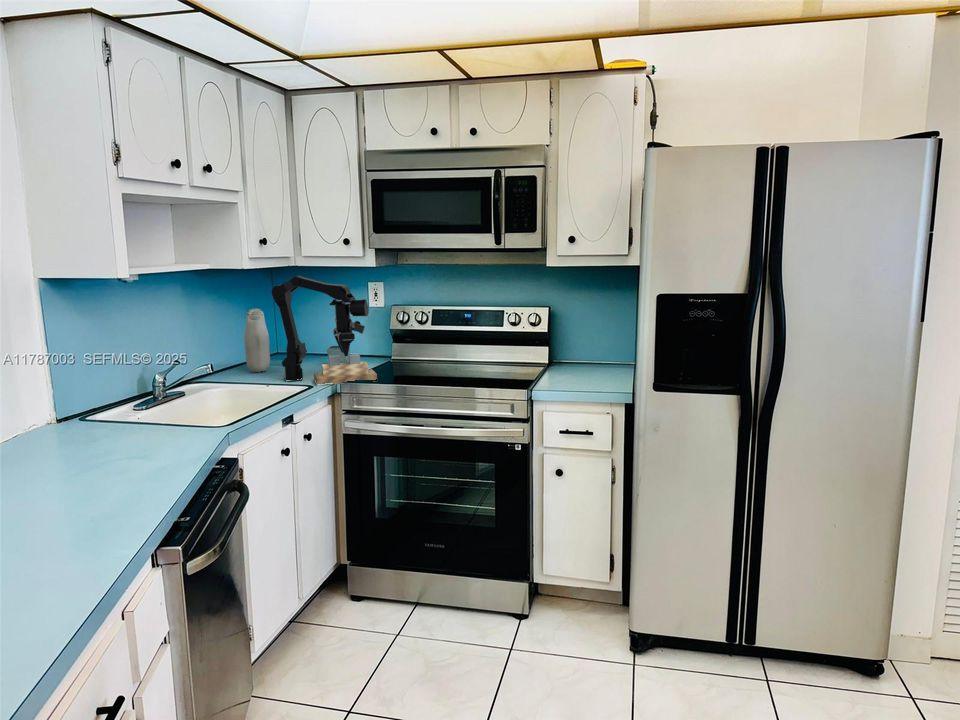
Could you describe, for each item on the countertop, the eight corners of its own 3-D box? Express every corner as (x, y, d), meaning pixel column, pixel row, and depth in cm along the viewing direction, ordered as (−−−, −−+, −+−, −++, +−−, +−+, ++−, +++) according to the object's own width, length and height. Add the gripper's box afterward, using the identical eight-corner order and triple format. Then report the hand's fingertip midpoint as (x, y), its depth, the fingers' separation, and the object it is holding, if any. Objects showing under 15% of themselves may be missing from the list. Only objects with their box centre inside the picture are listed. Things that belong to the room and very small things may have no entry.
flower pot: (327, 368, 312) (326, 348, 310) (332, 364, 321) (331, 345, 319) (346, 368, 312) (345, 348, 310) (350, 364, 320) (349, 345, 319)
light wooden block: (323, 376, 278) (323, 366, 277) (322, 374, 283) (321, 364, 282) (368, 373, 284) (367, 363, 283) (365, 370, 289) (365, 361, 288)
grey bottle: (243, 371, 306) (239, 308, 301) (266, 368, 312) (262, 306, 307) (251, 375, 298) (246, 310, 293) (274, 372, 304) (270, 308, 299)
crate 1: (330, 366, 279) (329, 357, 278) (329, 364, 282) (328, 355, 282) (340, 365, 280) (339, 356, 279) (338, 363, 284) (338, 355, 283)
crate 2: (350, 364, 281) (349, 356, 281) (348, 362, 285) (348, 354, 284) (360, 363, 283) (359, 355, 282) (358, 362, 286) (358, 353, 286)
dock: (317, 385, 275) (316, 378, 274) (314, 380, 285) (313, 373, 285) (377, 381, 282) (376, 373, 282) (372, 376, 293) (372, 369, 292)
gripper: (366, 317, 273) (368, 356, 276) (358, 312, 290) (360, 349, 293) (338, 319, 269) (340, 358, 272) (332, 314, 287) (334, 351, 289)
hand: (344, 354), depth 282 cm, fingers open, 9 cm apart
